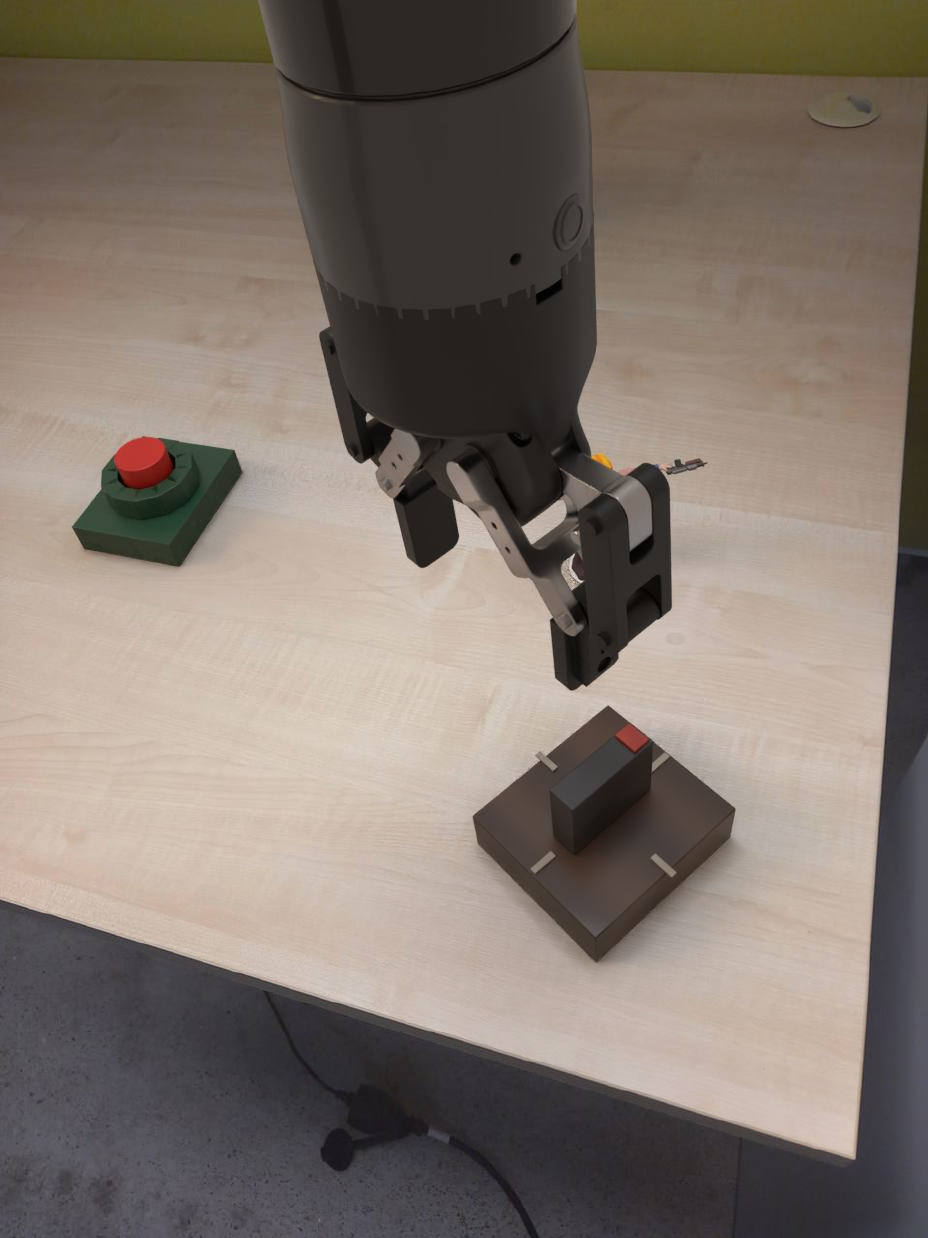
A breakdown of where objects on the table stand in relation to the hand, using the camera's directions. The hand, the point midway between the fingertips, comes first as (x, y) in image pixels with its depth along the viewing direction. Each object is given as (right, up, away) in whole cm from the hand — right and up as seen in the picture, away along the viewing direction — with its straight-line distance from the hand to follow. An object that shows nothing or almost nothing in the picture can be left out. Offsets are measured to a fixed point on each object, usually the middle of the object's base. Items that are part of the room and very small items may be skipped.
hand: (505, 609), depth 39 cm
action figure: (+8, +3, +28) cm, 30 cm away
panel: (+6, -12, +15) cm, 20 cm away
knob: (+5, -10, +13) cm, 17 cm away
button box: (-24, +8, +36) cm, 44 cm away
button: (-24, +10, +33) cm, 42 cm away
